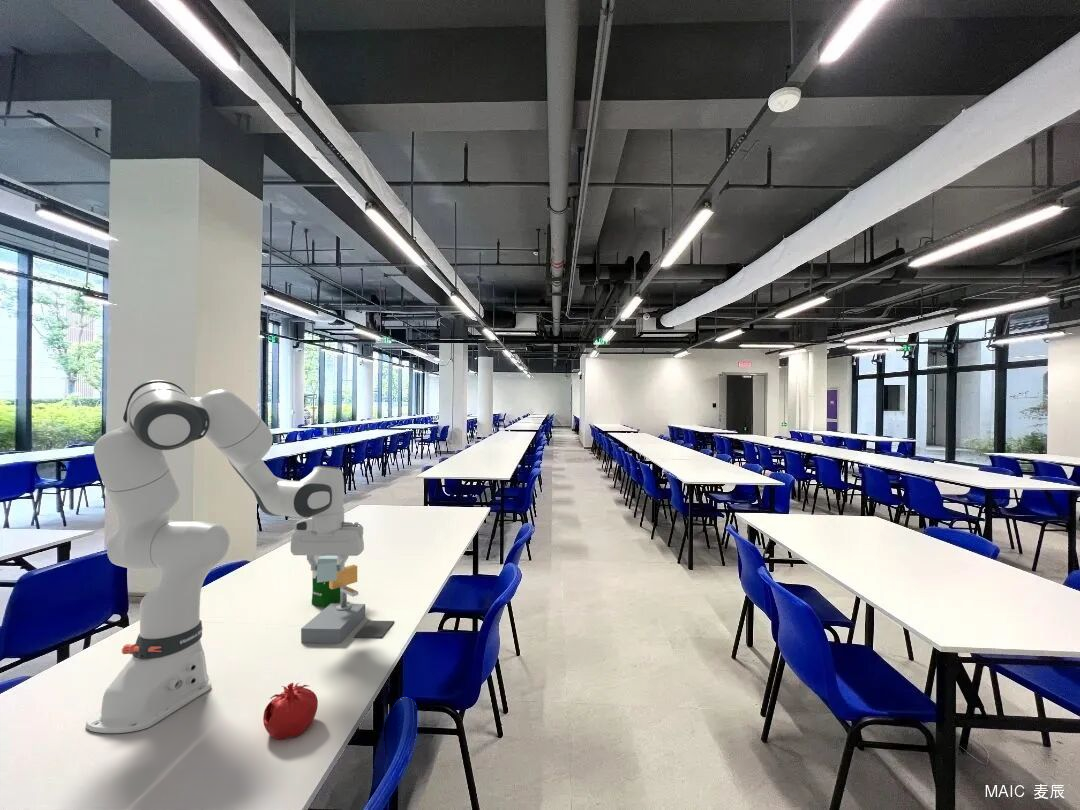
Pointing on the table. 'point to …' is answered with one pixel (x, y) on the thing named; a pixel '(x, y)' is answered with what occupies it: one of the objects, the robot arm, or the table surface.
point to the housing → (333, 624)
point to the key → (345, 583)
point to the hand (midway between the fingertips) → (327, 570)
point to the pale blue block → (327, 568)
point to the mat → (374, 629)
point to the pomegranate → (290, 712)
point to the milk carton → (324, 590)
